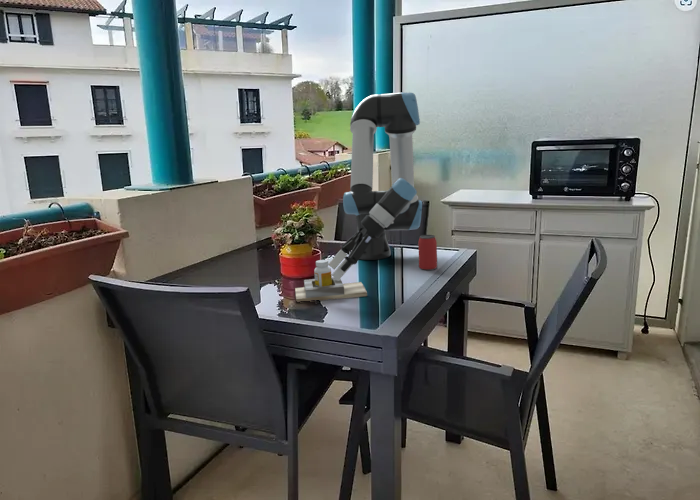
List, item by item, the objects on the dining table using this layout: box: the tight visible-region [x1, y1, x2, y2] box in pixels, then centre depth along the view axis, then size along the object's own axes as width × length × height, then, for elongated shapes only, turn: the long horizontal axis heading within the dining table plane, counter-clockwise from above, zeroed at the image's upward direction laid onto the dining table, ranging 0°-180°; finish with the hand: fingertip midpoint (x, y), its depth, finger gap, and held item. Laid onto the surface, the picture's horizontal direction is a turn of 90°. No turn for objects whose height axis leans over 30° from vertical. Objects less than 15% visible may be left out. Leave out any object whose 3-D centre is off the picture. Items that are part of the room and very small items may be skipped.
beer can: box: [417, 234, 438, 271], centre depth 185 cm, size 7×7×12 cm
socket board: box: [294, 276, 368, 302], centre depth 162 cm, size 12×22×4 cm, turn 98°
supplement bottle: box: [313, 259, 333, 287], centre depth 161 cm, size 5×5×10 cm
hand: (332, 272), depth 161 cm, fingers open, 13 cm apart
